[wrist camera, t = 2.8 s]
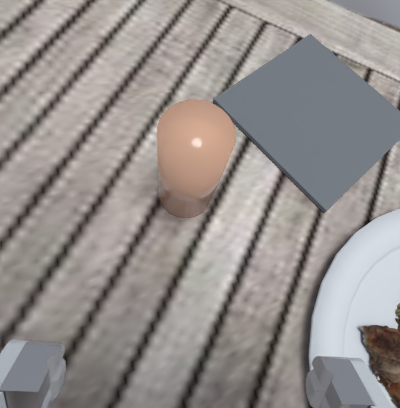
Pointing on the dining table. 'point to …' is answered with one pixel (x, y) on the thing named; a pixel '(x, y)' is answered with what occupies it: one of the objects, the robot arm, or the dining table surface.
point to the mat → (313, 119)
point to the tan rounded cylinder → (192, 155)
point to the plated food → (363, 304)
